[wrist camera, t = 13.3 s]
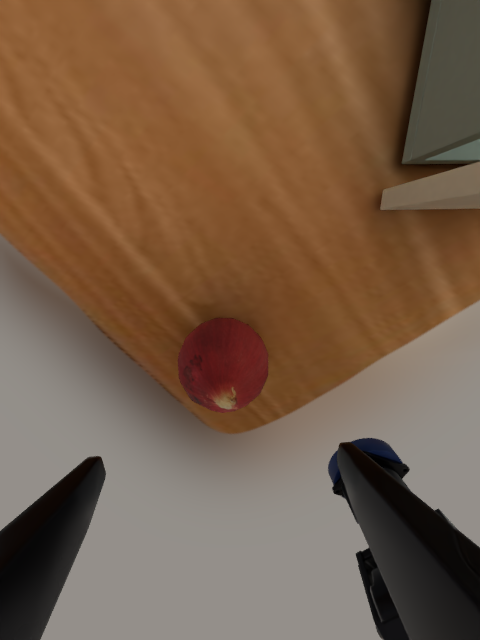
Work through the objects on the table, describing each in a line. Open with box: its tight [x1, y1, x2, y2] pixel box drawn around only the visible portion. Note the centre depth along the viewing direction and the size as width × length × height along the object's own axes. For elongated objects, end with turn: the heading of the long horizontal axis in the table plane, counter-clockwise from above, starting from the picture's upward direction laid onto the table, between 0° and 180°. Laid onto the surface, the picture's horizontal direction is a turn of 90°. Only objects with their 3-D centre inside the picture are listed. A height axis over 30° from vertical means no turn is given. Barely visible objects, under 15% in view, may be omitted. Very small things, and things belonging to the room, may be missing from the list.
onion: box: [178, 318, 268, 413], centre depth 15 cm, size 6×6×8 cm
